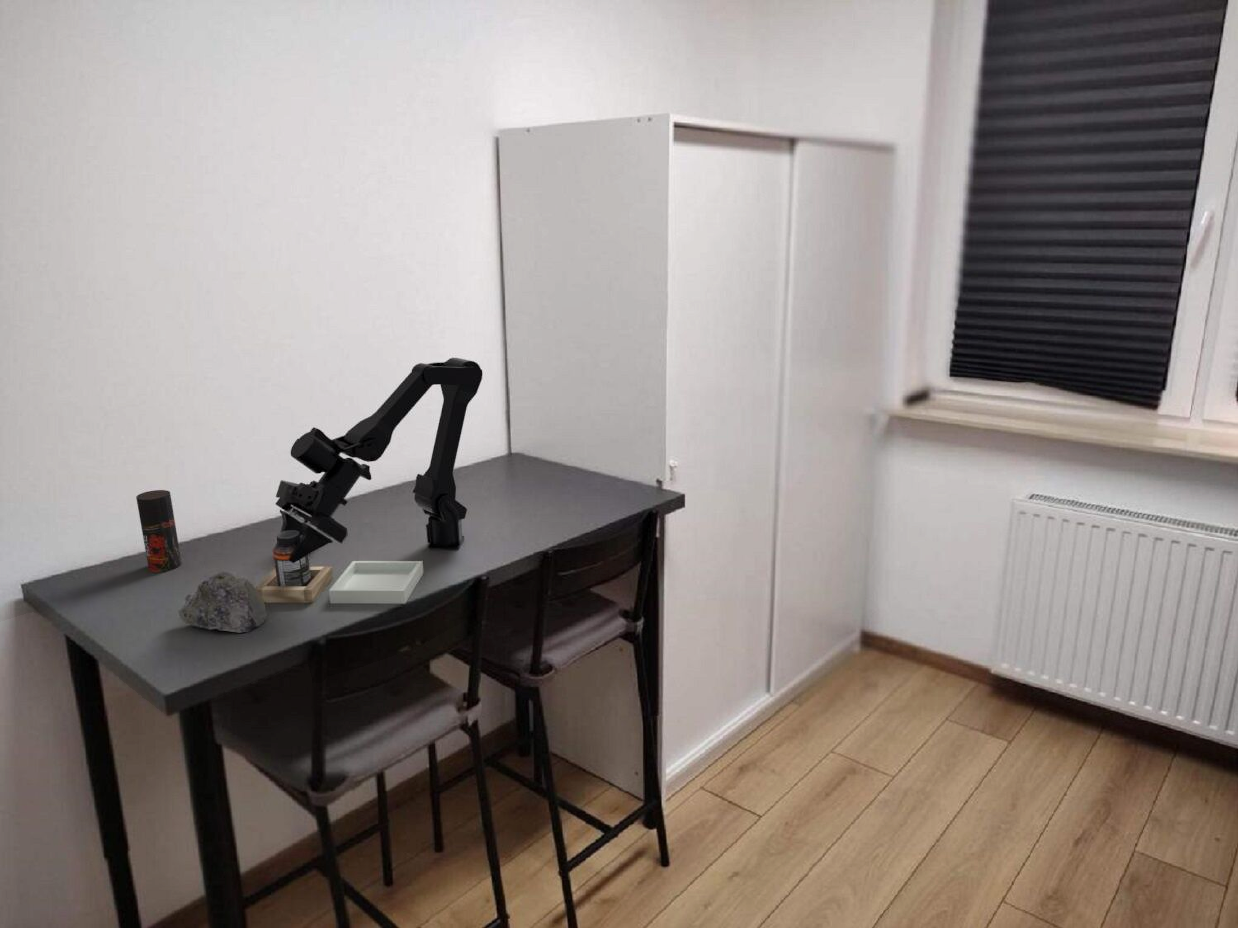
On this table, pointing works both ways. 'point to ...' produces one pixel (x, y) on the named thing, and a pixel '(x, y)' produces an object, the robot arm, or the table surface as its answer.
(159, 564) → the deodorant
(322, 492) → the robot arm
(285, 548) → the supplement bottle
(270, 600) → the collar socket
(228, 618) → the mineral rock
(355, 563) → the tray
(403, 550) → the table surface
